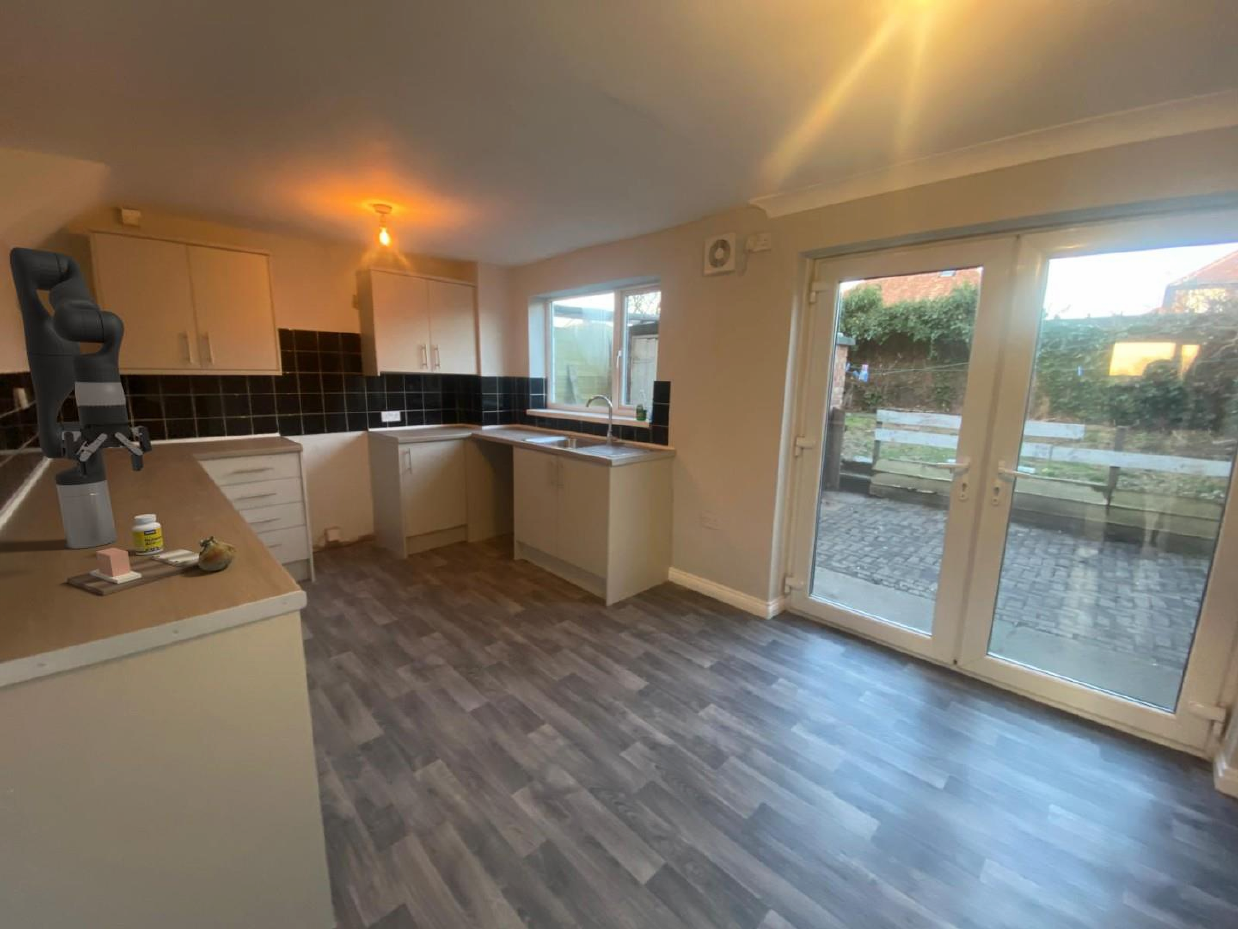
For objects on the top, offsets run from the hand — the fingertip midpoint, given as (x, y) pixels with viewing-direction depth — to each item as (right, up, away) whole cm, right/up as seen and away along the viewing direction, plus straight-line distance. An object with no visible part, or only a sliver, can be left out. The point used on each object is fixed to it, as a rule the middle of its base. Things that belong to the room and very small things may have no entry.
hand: (112, 474), depth 112 cm
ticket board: (+4, -23, +3) cm, 24 cm away
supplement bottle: (-7, -21, +17) cm, 28 cm away
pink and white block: (+2, -23, -2) cm, 23 cm away
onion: (+19, -23, +6) cm, 31 cm away
